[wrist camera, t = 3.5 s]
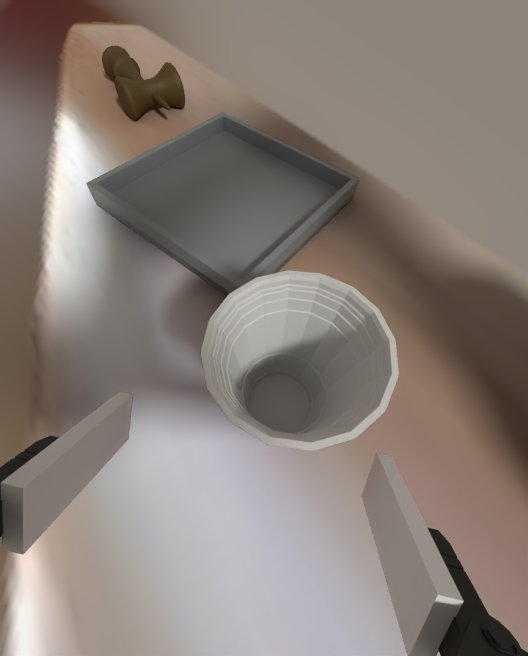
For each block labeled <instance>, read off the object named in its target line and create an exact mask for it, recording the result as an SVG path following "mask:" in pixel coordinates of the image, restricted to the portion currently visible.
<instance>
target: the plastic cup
mask: <svg viewBox="0 0 528 656" xmlns="http://www.w3.org/2000/svg"><path fill="white" fill-rule="evenodd" d="M201 358H202V364H203V370H204V375H205V381H206V387H207V389H208V391H209V392H210V393H211V395H212V396H213V398H214V399H215V401H216V402H217V404H218V405H219V407H220V408H221V409H222V411H223V412H224V414H225V415H226V417H227V418H228V420H229V421H230V422H232V423H233V424H235V425H236V426H238V427H240V428H241V429H243V430H245V431H246V432H248V433H250V434H251V435H253V436H254V437H256V438H258V439H259V440H261V441H263V442H264V443H266V444H268V445H275V446H282V447H289V448H296V449H303V450H310V451H314V450H317V449H321V448H324V447H327V446H331V445H334V444H338V443H341V442H345V441H348V440H352V439H355V438H356V437H357V436H358V435H359V434H361V433H362V432H363V431H364V430H365V429H366V428H367V427H368V426H369V425H371V424H372V423H373V422H374V421H375V420H376V419H377V418H378V417H379V416H380V415H382V414H383V413H384V412H385V411H386V408H387V406H388V403H389V400H390V398H391V395H392V392H393V390H394V387H395V384H396V382H397V379H398V376H399V372H398V362H397V351H396V340H395V338H394V336H393V335H392V333H391V331H390V329H389V327H388V325H387V324H386V322H385V320H384V318H383V316H382V314H381V313H380V311H379V309H378V308H377V307H376V306H374V305H373V304H372V303H371V302H370V301H369V300H367V299H366V298H365V297H364V296H363V295H362V294H361V293H359V292H358V291H357V290H356V289H355V288H354V287H352V286H350V285H347V284H345V283H343V282H340V281H338V280H336V279H333V278H331V277H328V276H326V275H324V274H320V273H310V272H299V271H289V270H288V271H284V272H279V273H274V274H270V275H265V276H260V277H256V278H255V279H253V280H251V281H250V282H248V283H246V284H245V285H243V286H241V287H240V288H238V289H236V290H235V291H233V292H231V293H230V294H229V295H228V296H227V297H226V298H225V300H224V301H223V302H222V304H221V305H220V306H219V307H218V309H217V310H216V311H215V312H214V314H213V315H212V316H211V318H210V319H209V322H208V325H207V329H206V333H205V337H204V340H203V344H202V348H201Z"/></svg>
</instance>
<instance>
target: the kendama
mask: <svg viewBox="0 0 528 656" xmlns="http://www.w3.org/2000/svg"><path fill="white" fill-rule="evenodd" d="M102 62H103V67H104V69H105V71H106V73H107V75H108V76H109V77H110V78H111V79H112V80H113V81H115V88H116V91H117V94H118V97H119V100H120V102H121V104H122V107H123V109H124V110H125V112H126V114H127V115H128V116H129V118H130V119H132V120H133V121H136V120H137V119H138V118H139V117H140V116H141V114H142V113H143V112H144V111H145V110H146V109H148V108H149V107H152V106H155V105H158V104H160V105H161V106H162V107H164V108H165V109H167V110H170V106H173V107H176V108H179V109H182V108H183V107H184V105H185V94H184V89H183V84H182V81H181V79H180V76H179V74H178V72H177V70H176V69H175V67H174V66H173V65H172V64H171V63H168V62H166V63H165V64H164V65H163V67H162V68H161V70H160V71H159V72H158V74H157V75H156V76H155V77H153V78H151V79H147V80H143V78H142V77H141V75H140V69H139V66H138V64H137V63H136V61H135V60H134V59H133V58H130V56H129V54H128V53H127V52H126V50H125V49H123V48H121V47H119V46H110V47H108V48H106V50H105V51H104V52H103V56H102ZM169 105H170V106H169Z"/></svg>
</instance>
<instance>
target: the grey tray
mask: <svg viewBox="0 0 528 656" xmlns="http://www.w3.org/2000/svg"><path fill="white" fill-rule="evenodd" d="M358 182H359V178H357V177H355V176H353V175H351V174H348V173H346V172H344V171H342V170H340V169H338V168H336V167H334V166H332V165H330V164H328V163H326V162H324V161H322V160H320V159H318V158H316V157H314V156H312V155H309V154H307V153H305V152H303V151H301V150H299V149H297V148H295V147H293V146H291V145H289V144H287V143H285V142H283V141H281V140H279V139H277V138H275V137H273V136H271V135H268V134H266V133H264V132H262V131H260V130H258V129H256V128H254V127H252V126H250V125H248V124H246V123H244V122H242V121H240V120H238V119H236V118H234V117H232V116H230V115H227V114H225V113H223V112H222V113H220V114H218V115H216V116H214V117H213V118H211V119H209V120H207V121H205V122H203V123H201V124H199V125H197V126H195V127H193V128H191V129H189V130H188V131H186V132H184V133H182V134H180V135H178V136H176V137H174V138H172V139H170V140H168V141H166V142H165V143H163V144H161V145H159V146H157V147H155V148H153V149H151V150H149V151H147V152H145V153H143V154H142V155H140V156H138V157H136V158H134V159H132V160H130V161H128V162H126V163H124V164H122V165H120V166H118V167H117V168H115V169H113V170H111V171H109V172H107V173H105V174H103V175H101V176H99V177H97V178H95V179H94V180H92V181H90V182H88V183H86V184H87V186H88V188H89V190H90V192H91V194H92V196H93V198H94V200H95V202H96V204H97V205H98V206H99V207H101V208H102V209H103V210H105V211H106V212H108V213H109V214H111V215H112V216H113V217H115V218H116V219H118V220H119V221H121V222H122V223H123V224H125V225H126V226H128V227H129V228H131V229H132V230H133V231H135V232H136V233H138V234H139V235H141V236H142V237H143V238H145V239H146V240H148V241H149V242H151V243H152V244H153V245H155V246H156V247H158V248H159V249H161V250H162V251H163V252H165V253H166V254H168V255H169V256H171V257H172V258H173V259H175V260H176V261H178V262H179V263H181V264H182V265H183V266H185V267H186V268H188V269H189V270H191V271H192V272H193V273H195V274H196V275H198V276H199V277H201V278H202V279H203V280H205V281H206V282H208V283H209V284H211V285H212V286H213V287H215V288H216V289H218V290H219V291H221V292H222V293H223V294H225V295H226V296H228V295H229V294H230V293H231V292H233V291H235V290H236V289H238V288H240V287H241V286H243V285H245V284H246V283H248V282H250V281H251V280H253V279H255V278H256V277H260V276H265V275H270V274H274V273H277V272H278V271H279V270H280V269H281V268H282V267H283V266H284V265H285V264H286V263H287V262H289V261H290V260H291V259H292V258H293V257H294V256H295V255H296V254H297V253H298V252H299V251H300V250H301V249H302V248H303V247H304V246H305V245H306V244H307V243H308V242H309V241H310V240H311V239H312V238H313V237H314V236H315V235H316V234H317V233H318V232H319V231H320V230H321V229H322V228H323V227H324V226H325V225H326V224H327V223H328V222H329V221H330V220H331V219H332V218H333V217H334V216H335V215H336V214H337V213H338V212H339V211H340V210H341V209H342V208H343V207H344V206H345V205H346V204H347V203H348V202H349V201H350V200H351V199H352V198H353V195H354V193H355V190H356V187H357V184H358Z"/></svg>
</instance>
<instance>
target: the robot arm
mask: <svg viewBox="0 0 528 656" xmlns="http://www.w3.org/2000/svg"><path fill="white" fill-rule="evenodd" d="M132 399H133V395H132V394H128V393H123V392H118V393H117V394H115V395H114V396H113V397H111V398H110V399H109V400H108V401H106V402H105V403H104V404H102V405H101V406H100V407H98V408H97V409H96V410H95V411H93V412H92V413H91V414H89V415H88V416H87V417H85V418H84V419H83V420H82V421H80V422H79V423H78V424H76V425H75V426H74V427H72V428H71V429H70V430H68V431H67V432H66V433H65V434H63V435H62V436H61V437H59V438H58V437H54V436H49V437H46V438H44V439H42V440H39V441H37V442H35V443H34V444H32V445H31V446H30V447H28V448H27V449H25V451H24V452H21V453H20V454H18V455H17V456H16V457H15V458H14V459H11V460H10V461H9V462H7V463H6V464H4V465H3V466H2V467H0V537H1V536H2V549H4V550H8V551H11V552H15V553H19V554H24V553H25V552H26V551H27V550H28V549H29V548H30V547H31V545H32V544H33V543H34V542H35V541H36V540H37V539H38V538H39V537H40V536H41V534H42V533H43V532H44V531H45V530H46V529H47V528H48V527H49V526H50V525H51V524H52V522H53V521H54V520H55V519H56V518H57V517H58V516H59V515H60V514H61V513H62V511H63V510H64V509H65V508H66V507H67V506H68V505H69V504H70V503H71V502H72V500H73V499H74V498H75V497H76V496H77V495H78V494H79V493H80V492H81V491H82V489H83V488H84V487H85V486H86V485H87V484H88V483H89V482H90V481H91V480H92V478H93V477H94V476H95V475H96V474H97V473H98V472H99V471H100V470H101V469H102V467H103V466H104V465H105V464H106V463H107V462H108V461H109V460H110V459H111V458H112V457H113V455H114V454H115V453H116V452H117V451H118V450H119V449H120V448H121V447H122V446H123V444H124V443H125V442H126V441H127V440H128V438H129V429H130V419H131V409H132ZM362 498H363V502H364V505H365V509H366V512H367V516H368V519H369V523H370V526H371V530H372V533H373V537H374V540H375V544H376V547H377V551H378V554H379V557H380V561H381V564H382V568H383V571H384V575H385V578H386V582H387V585H388V589H389V592H390V596H391V599H392V603H393V606H394V610H395V613H396V617H397V620H398V623H399V627H400V630H401V634H402V637H403V641H404V644H405V648H406V651H407V655H408V656H436V655H437V653H438V651H439V652H440V655H441V656H528V652H526V651H524V650H523V649H521V647H520V645H519V643H518V642H517V640H516V639H515V638H514V637H513V635H512V634H511V633H510V631H509V630H508V629H506V628H505V627H504V626H503V625H502V624H501V623H500V622H499V621H497V620H496V619H494V618H493V617H491V616H490V615H489V614H488V612H487V610H486V609H485V607H484V605H483V603H482V601H481V599H480V598H479V596H478V594H477V592H476V590H475V589H474V587H473V585H472V583H471V581H470V579H469V578H468V576H467V574H466V572H465V571H464V570H463V569H464V568H463V567H462V565H461V563H460V561H459V560H458V559H457V556H456V554H455V552H454V550H453V548H452V547H451V545H450V543H449V542H448V541H447V540H446V539H445V537H444V536H443V535H442V534H441V533H440V532H439V531H438V530H435V529H431V528H427V526H426V524H425V522H424V520H423V518H422V516H421V514H420V512H419V510H418V508H417V506H416V504H415V502H414V500H413V498H412V496H411V494H410V492H409V490H408V488H407V486H406V484H405V482H404V480H403V478H402V476H401V474H400V472H399V470H398V468H397V466H396V464H395V462H394V460H393V458H392V456H390V455H385V454H381V453H376V456H375V459H374V462H373V465H372V468H371V471H370V473H369V476H368V479H367V482H366V485H365V488H364V491H363V494H362Z"/></svg>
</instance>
